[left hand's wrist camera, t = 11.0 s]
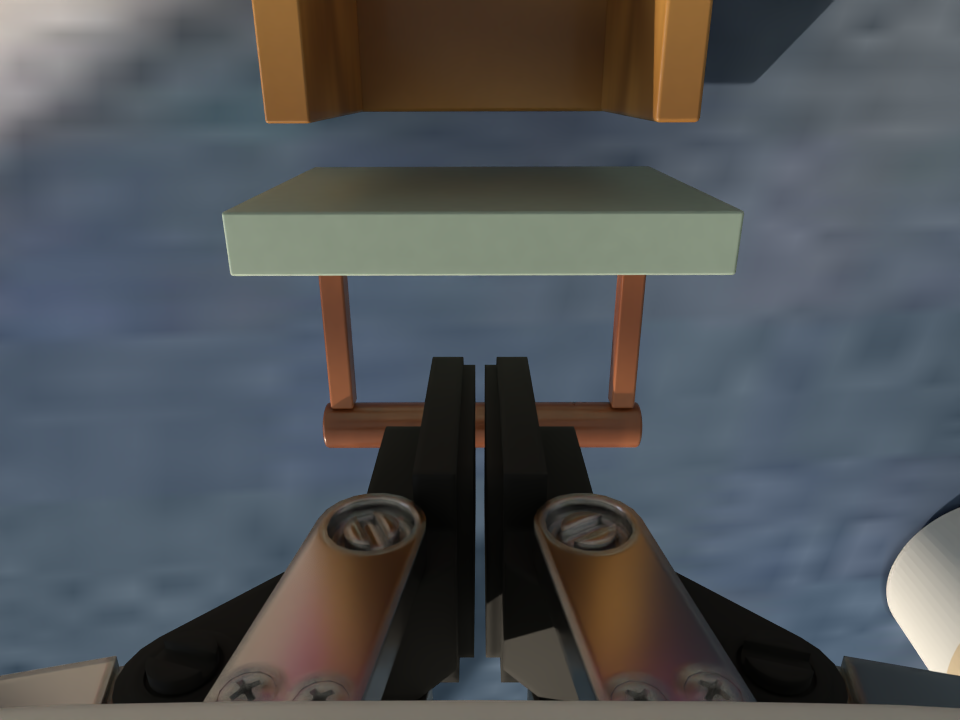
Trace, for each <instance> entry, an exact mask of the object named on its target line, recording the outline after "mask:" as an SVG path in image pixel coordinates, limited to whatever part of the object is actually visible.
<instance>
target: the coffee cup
mask: <svg viewBox="0 0 960 720" xmlns="http://www.w3.org/2000/svg"><path fill="white" fill-rule="evenodd" d="M887 601H888V605H889V608H890V610H891V613H892V614H893V616H894V618H895V619H896V621H897V622H898V624H899V625H900V627H901V628H902V630H903V631H904V633H905V634H906V636H907V637H908V639H909V640H910V642H911V643H912V645H913V646H914V648H915V649H916V651H917V652H918V654H919V655H920V657H921V658H922V660H923V662H924V663H925V665H926V666H927V668H928V669H929V671H935V672H941V673H946V674H952V675H958V676H960V508H957V509H955V510H953V511H950V512H948V513H946V514H944V515H942V516H941V517H939V518H937V519H936V520H934V521H933V522H931V523H930V524H928V525H927V526H925V527H924V528H923V529H922V530H920V531H919V532H918V533H917V534H916V535H915V536H914V537H913V538H912V539H911V540H910V541H909V542H908V543H907V544H906V545H905V547H904V548H903V549H902V550H901V552H900V553H899V555H898V556H897V558H896V560H895V562H894V564H893V566H892V568H891V571H890V573H889V577H888V581H887Z"/></svg>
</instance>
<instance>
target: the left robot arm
mask: <svg viewBox="0 0 960 720" xmlns="http://www.w3.org/2000/svg"><path fill="white" fill-rule="evenodd" d="M475 514H476V480H475V365H464V363H463V357H433V359H432V365H431V370H430V376H429V382H428V387H427V393H426V399H425V405H424V410H423V416H422V422H421V426H386V428H385V431H384V435H383V438H382V442H381V445H380V449H379V453H378V456H377V460H376V463H375V467H374V471H373V474H372V478H371V481H370V485H369V488H368V492H367V494H363V495H358V496H353V497H350V498H348V499H345V500H342V501H339V502H338V503H336V504H335V505H333V506H331V507H330V508H328V509H327V510H326V511H325V512H324V513H323V514H322V515H321V516H320V517H319V519H318V520H317V522H316V523H315V525H314V526H313V528H312V530H311V531H310V533H309V534H308V536H307V537H306V539H305V541H304V542H303V544H302V545H301V547H300V549H299V550H298V552H297V553H296V555H295V557H294V558H293V560H292V561H291V563H290V564H289V566H288V568H287V569H286V571H285V572H283V573H282V574H280V575H278V576H276V577H274V578H272V579H270V580H268V581H266V582H264V583H262V584H260V585H259V586H257V587H255V588H253V589H251V590H249V591H247V592H245V593H243V594H241V595H239V596H238V597H236V598H234V599H232V600H230V601H228V602H226V603H224V604H222V605H220V606H218V607H217V608H215V609H213V610H211V611H209V612H207V613H205V614H203V615H201V616H199V617H197V618H196V619H194V620H192V621H190V622H188V623H186V624H184V625H182V626H180V627H178V628H176V629H174V630H173V631H171V632H169V633H167V634H165V635H163V636H161V637H159V638H158V639H156V640H155V641H153V642H151V643H150V644H148V645H147V646H145V647H144V648H142V649H141V650H140V651H139V652H138V653H137V654H136V655H135V656H133V657H132V658H131V659H130V660H129V661H128V662H127V663H126V664H125V666H120V667H119V664H118V661H117V657H116V656H112V657H107V658H101V659H95V660H89V661H83V662H77V663H72V664H66V665H60V666H54V667H48V668H43V669H37V670H31V671H25V672H19V673H14V674H8V675H2V676H0V720H960V676H958V675H952V674H946V673H941V672H935V671H929V670H923V669H917V668H912V667H906V666H900V665H894V664H888V663H883V662H877V661H871V660H865V659H859V658H853V657H848V656H844V657H843V661H842V664H841V667H840V666H835V664H834V663H833V662H832V661H831V660H830V659H829V658H828V657H827V656H825V655H824V654H823V653H822V652H821V651H820V650H819V649H818V648H816V647H815V646H813V645H812V644H810V643H809V642H807V641H805V640H804V639H802V638H801V637H799V636H797V635H795V634H793V633H791V632H789V631H787V630H786V629H784V628H782V627H780V626H778V625H776V624H774V623H772V622H770V621H768V620H766V619H764V618H763V617H761V616H759V615H757V614H755V613H753V612H751V611H749V610H747V609H745V608H743V607H742V606H740V605H738V604H736V603H734V602H732V601H730V600H728V599H726V598H724V597H722V596H721V595H719V594H717V593H715V592H713V591H711V590H709V589H707V588H705V587H703V586H701V585H700V584H698V583H696V582H694V581H692V580H690V579H688V578H686V577H684V576H682V575H680V574H678V573H677V572H675V571H674V569H673V568H672V566H671V564H670V563H669V561H668V560H667V558H666V557H665V555H664V553H663V552H662V550H661V549H660V547H659V545H658V544H657V542H656V541H655V539H654V537H653V536H652V534H651V533H650V531H649V530H648V528H647V526H646V525H645V523H644V522H643V520H642V519H641V517H640V516H639V515H638V514H637V513H636V512H635V511H634V510H633V509H632V508H630V507H629V506H627V505H625V504H624V503H622V502H621V501H618V500H615V499H612V498H610V497H607V496H602V495H597V494H593V492H592V488H591V485H590V481H589V478H588V474H587V471H586V467H585V463H584V460H583V456H582V453H581V449H580V445H579V442H578V438H577V435H576V431H575V428H574V426H539V422H538V416H537V410H536V405H535V399H534V393H533V387H532V382H531V376H530V370H529V365H528V359H527V357H497V363H496V365H485V479H484V514H485V609H486V657H500V663H501V682H520V683H521V684H522V685H524V686H525V687H526V688H528V694H527V701H517V700H443V701H433V694H432V688H434V687H435V686H436V685H438V684H439V683H440V682H459V663H460V657H474V609H475Z"/></svg>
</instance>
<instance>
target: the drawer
mask: <svg viewBox="0 0 960 720" xmlns="http://www.w3.org/2000/svg"><path fill="white" fill-rule="evenodd" d="M712 5H713V0H252V6H253V15H254V24H255V32H256V41H257V50H258V59H259V67H260V76H261V85H262V94H263V102H264V111H265V120H266V122H267V123H311V122H316V121H320V120H325V119H330V118H335V117H339V116H344V115H349V114H353V113H358V112H432V111H605V112H610V113H615V114H620V115H625V116H630V117H635V118H640V119H645V120H650V121H655V122H696V121H698V120H699V118H700V112H701V103H702V94H703V85H704V76H705V67H706V59H707V50H708V41H709V32H710V23H711V14H712ZM743 216H744V212H743V211H742V210H740V209H737V208H735V207H733V206H731V205H729V204H727V203H725V202H723V201H721V200H718V199H716V198H714V197H712V196H710V195H708V194H706V193H704V192H702V191H699V190H697V189H695V188H693V187H691V186H689V185H687V184H685V183H682V182H680V181H678V180H676V179H674V178H672V177H670V176H668V175H666V174H663V173H661V172H659V171H657V170H655V169H653V168H651V167H649V166H639V167H315V168H313V169H311V170H309V171H306V172H304V173H302V174H300V175H298V176H296V177H294V178H292V179H290V180H288V181H286V182H284V183H282V184H280V185H278V186H276V187H274V188H272V189H270V190H268V191H266V192H264V193H261V194H259V195H257V196H255V197H253V198H251V199H249V200H247V201H245V202H243V203H241V204H239V205H237V206H235V207H233V208H231V209H229V210H227V211H225V212H223V213H222V218H223V225H224V231H225V238H226V245H227V252H228V259H229V266H230V273H231V275H233V276H319V285H320V295H321V306H322V317H323V327H324V338H325V349H326V359H327V370H328V381H329V391H330V402H331V403H328V404H327V405H326V408H325V411H324V417H323V437H324V441H325V444H326V446H327V447H329V448H380V445H381V442H382V438H383V435H384V431H385V428H386V426H421V422H422V416H423V410H424V405H425V402H385V403H355V402H356V399H357V396H356V384H355V371H354V358H353V345H352V332H351V319H350V306H349V294H348V281H347V276H349V275H618V276H617V289H616V303H615V316H614V329H613V342H612V355H611V368H610V382H609V395H608V399H609V401H610V402H535V405H536V410H537V416H538V422H539V426H574V428H575V431H576V435H577V438H578V442H579V445H580V447H637V446H639V444H640V441H641V437H642V415H641V410H640V407H639V405H638V403H636V402H634V401H635V390H636V379H637V368H638V357H639V346H640V336H641V325H642V314H643V303H644V292H645V281H646V275H732V274H735V272H736V265H737V258H738V251H739V244H740V237H741V230H742V223H743ZM475 448H485V402H475Z"/></svg>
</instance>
